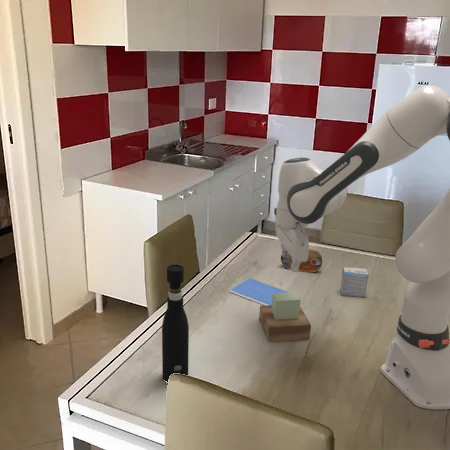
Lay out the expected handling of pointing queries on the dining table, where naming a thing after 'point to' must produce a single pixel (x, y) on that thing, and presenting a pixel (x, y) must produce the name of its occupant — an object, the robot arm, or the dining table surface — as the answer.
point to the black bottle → (175, 327)
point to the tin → (310, 265)
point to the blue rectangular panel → (256, 291)
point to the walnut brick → (284, 326)
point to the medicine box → (354, 282)
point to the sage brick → (285, 305)
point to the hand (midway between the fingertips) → (289, 263)
